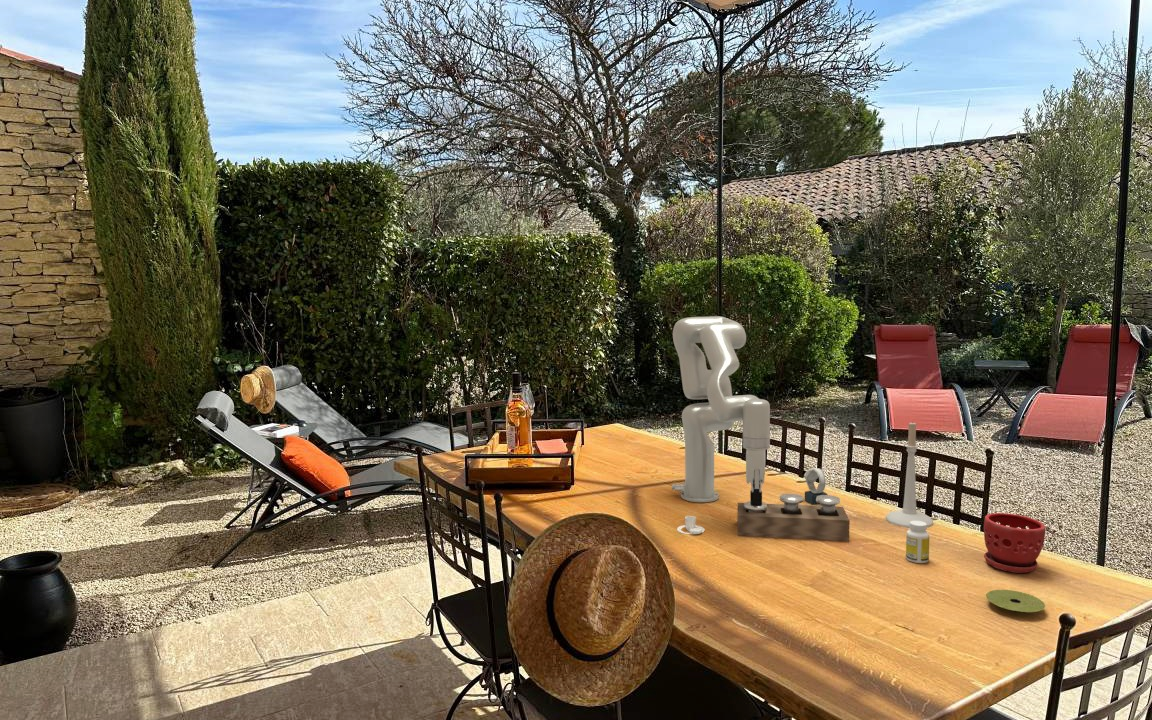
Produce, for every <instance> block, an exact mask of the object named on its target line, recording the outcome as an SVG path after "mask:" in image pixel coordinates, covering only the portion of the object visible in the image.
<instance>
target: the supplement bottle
mask: <svg viewBox="0 0 1152 720" xmlns="http://www.w3.org/2000/svg"><path fill="white" fill-rule="evenodd" d="M927 530H928V527H927V524H926V523H925V522H922V521H911V522H910V528H908V530H907V531H906V535H905V536H906V537H905V538H906V540H905V541H906V543H905V558H906V559H907V561H909V562H911V563H917V564H926V563H928V562H929V559H930V534H929V532H928V531H927Z"/></svg>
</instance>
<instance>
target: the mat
mask: <svg viewBox="0 0 1152 720" xmlns="http://www.w3.org/2000/svg"><path fill="white" fill-rule="evenodd" d="M985 597H986V599H987V600H988V601H989V602H990V603H992V604H993V605H995V606H997V607H1000V608H1002V609H1006V610H1009V611H1016V612H1021V613H1023V612H1024V613H1036V612H1040V611H1042V610H1043V611H1044V609H1045V607H1046V604H1045V602H1044V601H1043V600H1041V599H1040V598H1038V597H1036V596H1034V595H1032V594H1029V593H1026V592H1023V591H1019V590H1018V591H1017V590H1011V589H995V590H994V589H993V590H989V591H987V593H986V594H985Z"/></svg>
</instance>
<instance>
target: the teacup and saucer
mask: <svg viewBox="0 0 1152 720" xmlns="http://www.w3.org/2000/svg"><path fill="white" fill-rule="evenodd" d="M696 520H697V517H696V516H693V515H686V516H685V517H684V524H683V525H679V526H678V527H677V528H676V531H677V532H678V533H681V534H684V535H699V534H700V535H701V534H702V533H704V532H705V528H704V527H702V526H701V525H698V524H696ZM683 528H685V529H686V531H688V532H685V531H683V530H682V529H683Z"/></svg>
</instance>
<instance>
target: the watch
mask: <svg viewBox="0 0 1152 720" xmlns="http://www.w3.org/2000/svg"><path fill="white" fill-rule="evenodd" d="M803 477H804V478H805V483H806V484H807V487H808V491H804V501H805V502H806V503H807V504H809V505H811V506H816V505H820V503H817V502H816V497H817V496H819V495H828V493H827V492H825V489H826V482H827V481H826V475H825V473H824V471H823V470H822V469H821V468H818V467H817V468H816V467H812V468H811V467H810V468H809V469H807V470H806V471H805V473H804V475H803ZM817 479H818V481H819V482H818V484H817V488H816V485H815V482H816V480H817Z"/></svg>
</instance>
